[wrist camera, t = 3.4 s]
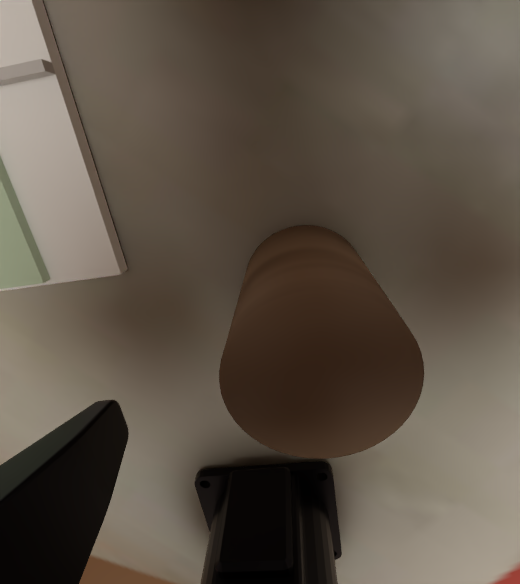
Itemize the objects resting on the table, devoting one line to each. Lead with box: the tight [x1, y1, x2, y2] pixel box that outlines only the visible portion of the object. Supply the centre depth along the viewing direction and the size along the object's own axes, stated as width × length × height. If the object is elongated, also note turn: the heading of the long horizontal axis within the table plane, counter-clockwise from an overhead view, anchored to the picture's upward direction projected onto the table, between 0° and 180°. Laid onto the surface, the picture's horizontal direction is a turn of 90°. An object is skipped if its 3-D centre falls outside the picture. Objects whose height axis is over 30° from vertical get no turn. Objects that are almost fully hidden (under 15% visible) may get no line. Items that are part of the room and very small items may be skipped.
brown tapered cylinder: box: [219, 225, 424, 459], centre depth 10 cm, size 4×4×6 cm
